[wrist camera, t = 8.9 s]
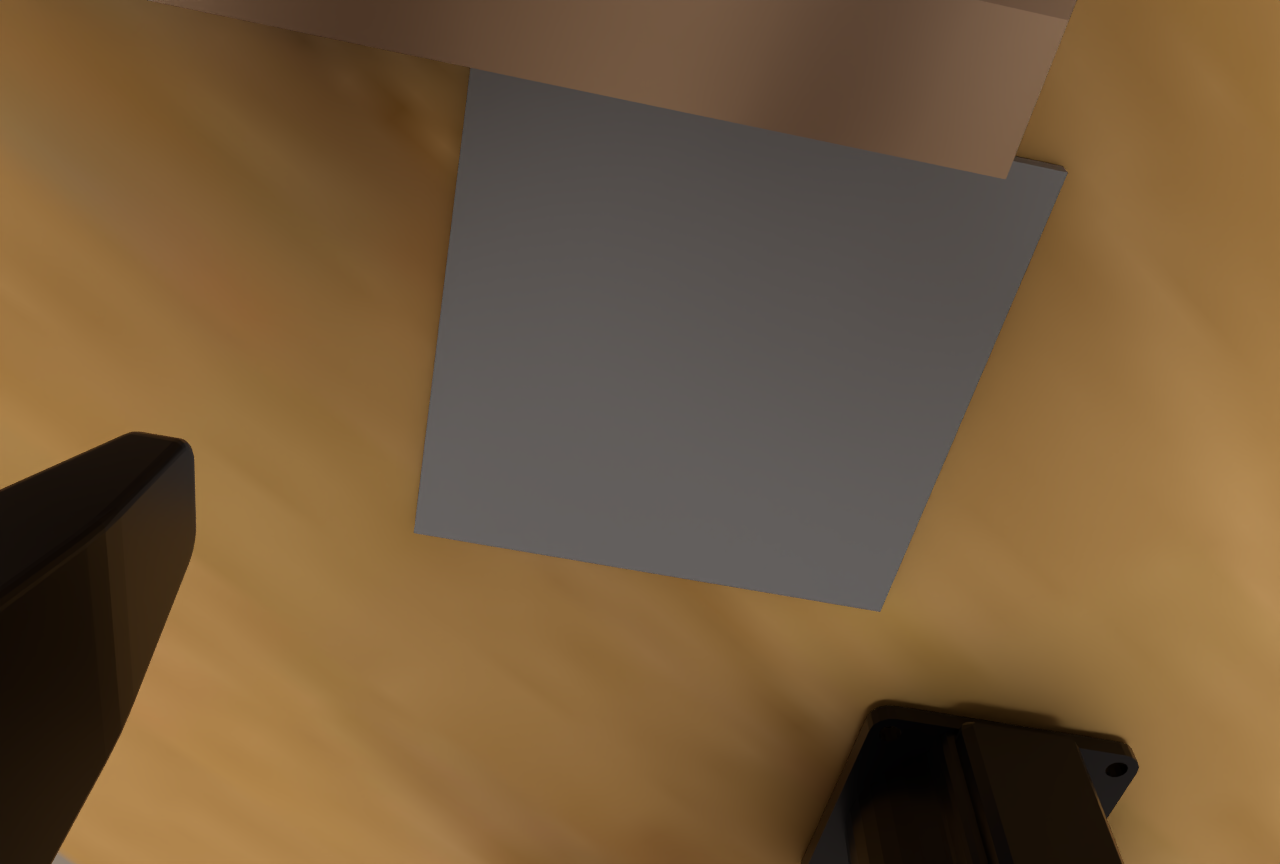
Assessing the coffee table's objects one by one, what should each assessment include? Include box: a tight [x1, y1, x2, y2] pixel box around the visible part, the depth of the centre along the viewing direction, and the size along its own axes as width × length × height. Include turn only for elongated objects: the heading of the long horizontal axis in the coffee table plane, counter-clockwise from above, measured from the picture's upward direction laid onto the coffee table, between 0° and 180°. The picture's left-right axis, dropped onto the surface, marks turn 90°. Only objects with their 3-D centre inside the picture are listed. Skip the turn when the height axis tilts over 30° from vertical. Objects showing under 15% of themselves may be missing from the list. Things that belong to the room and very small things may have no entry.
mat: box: [414, 68, 1068, 612], centre depth 21 cm, size 10×10×1 cm
